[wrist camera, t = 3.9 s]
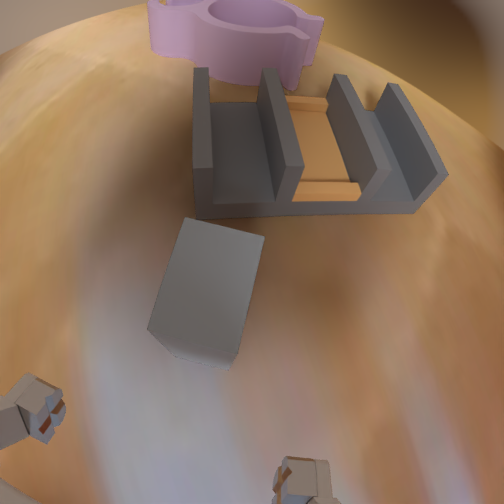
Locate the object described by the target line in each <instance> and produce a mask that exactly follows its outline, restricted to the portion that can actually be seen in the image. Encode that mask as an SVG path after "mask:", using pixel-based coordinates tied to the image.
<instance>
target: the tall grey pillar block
mask: <svg viewBox="0 0 504 504" xmlns="http://www.w3.org/2000/svg"><path fill="white" fill-rule="evenodd" d="M264 239H265V236H261V235H257V234H253V233H249V232H244V231H240V230H236V229H232V228H228V227H224V226H220V225H216V224H212V223H207V222H203V221H199V220H195V219H191V218H187V217H185V218H184V221H183V224H182V226H181V229H180V232H179V235H178V237H177V240H176V243H175V246H174V249H173V252H172V254H171V257H170V260H169V263H168V266H167V269H166V272H165V275H164V278H163V281H162V284H161V287H160V290H159V293H158V296H157V299H156V302H155V305H154V308H153V312H152V315H151V318H150V321H149V325H148V328H147V330H148V331H149V332H150V333H151V334H152V335H153V336H154V337H155V338H156V339H157V340H158V341H159V342H160V343H161V344H163V345H164V346H165V347H166V348H167V349H168V350H169V351H170V352H171V353H172V354H173V355H174V356H175V357H179V358H182V359H186V360H190V361H193V362H197V363H201V364H204V365H208V366H212V367H216V368H220V369H224V370H229V369H230V367H231V365H232V363H233V361H234V359H235V358H236V356H237V354H238V350H239V345H240V341H241V337H242V333H243V328H244V324H245V320H246V316H247V312H248V307H249V303H250V299H251V294H252V290H253V286H254V282H255V277H256V273H257V269H258V264H259V260H260V256H261V252H262V247H263V243H264Z"/></svg>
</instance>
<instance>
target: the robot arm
mask: <svg viewBox="0 0 504 504" xmlns="http://www.w3.org/2000/svg"><path fill="white" fill-rule="evenodd" d="M62 397H63V393H62V390H61V389H59V388H57V387H55V386H53V385H51V384H50V383H48V382H46V381H44V380H42V379H40V378H38V377H36V376H35V375H33V374H31V373H26V374H25V375H24V376H23V377H22V378H21V379H20V380H19V381H18V382H17V383H16V384H15V385H14V387H13V388H12V389H11V390H10V391H9V392H8V393H7V394H6V395H5V397H3V396H2V395H1V396H0V450H1V449H3V448H6V447H8V446H10V445H12V444H14V443H16V442H18V441H20V440H22V439H25V438H27V437H29V435H30V436H32V437H34V438H35V439H37V440H39V441H41V442H43V443H45V444H48V442H49V441H50V439H51V438H52V436H53V435H54V433H55V431H54V427H56V426H59V425H60V424H61V423H62V421H63V419H64V416H65V413H66V406H65V403H64V402H63V400H62V399H61V398H62ZM272 490H273V491H274V492H275V496H274V497H273V499H272V504H341V503H340V502H339V501H338V499H337V498H333V497H332V486H331V476H330V467H329V462H328V461H327V460H316V459H310V458H300V457H291V456H285V457H284V459H283V460H282V466H280V467H278V469H277V471H276V473H275V476H274V479H273V489H272ZM0 504H41V503H40V502H38V501H36V500H35V499H33V498H31V497H29V496H28V495H26V494H25V493H23V492H21V491H20V490H18V489H17V488H15V487H13V486H12V485H10V484H9V483H7V482H6V481H4V480H3V479H2V478H0Z"/></svg>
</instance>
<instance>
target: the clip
mask: <svg viewBox="0 0 504 504" xmlns="http://www.w3.org/2000/svg"><path fill="white" fill-rule="evenodd" d="M147 7H148V20H149V33H150V44H151V50H152V51H153V52H154V53H156V54H158V55H160V56H164V57H171V58H185V59H189V60H191V61H193V62H194V63H195V64H196V65H197V67H198V68H200V67H209V76H210V77H212V78H214V79H217V80H220V81H223V82H227V83H231V84H237V85H245V86H259V85H260V79H261V72H262V68H277V71H278V75H279V78H280V81H281V84H282V85H283V86H284V87H285V88H286V89H287V90H290V91H292V90H296V89H297V86H298V82H299V78H300V74H301V70H302V67H303V66H311V65H312V63H313V59H314V56H315V52H316V49H317V45H318V42H319V38H320V35H321V31H322V27H323V24H324V19H323V18H322V17H320V16H312V15H308V14H306V13H305V12H304V11H303V10H302V9H300V8H299V7H297V6H295V5H293V4H291V3H288V2H286V1H283V0H166V5H163V4H161V3H159V0H150V1H148V2H147Z"/></svg>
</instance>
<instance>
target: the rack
mask: <svg viewBox="0 0 504 504" xmlns="http://www.w3.org/2000/svg"><path fill="white" fill-rule="evenodd" d="M192 164H193V183H194V197H195V210H196V220H204V219H223V218H245V217H270V216H299V215H339V214H414V213H415V212H416V210H417V209H418V208H419V207H420V206H421V205H422V204H423V203H424V202H425V201H426V200H427V199H428V197H429V196H430V195H431V194H432V193H433V192H434V191H435V190H436V189H437V187H438V186H439V185H440V184H441V183H442V182H443V181H444V180H445V178H446V177H447V176H448V175H449V174H448V172H447V170H446V168H445V166H444V164H443V162H442V160H441V158H440V156H439V154H438V152H437V150H436V148H435V146H434V144H433V142H432V141H431V139H430V137H429V135H428V133H427V131H426V130H425V128H424V126H423V124H422V122H421V121H420V119H419V117H418V116H417V114H416V112H415V111H414V109H413V107H412V106H411V104H410V102H409V101H408V99H407V97H406V96H405V94H404V93H403V91H402V90H401V88H400V87H399V85H398V84H393V83H387V85H386V87H385V90H384V92H383V94H382V96H381V98H380V100H379V102H378V104H377V106H376V108H375V110H374V111H367V110H365V109H364V107H363V105H362V103H361V101H360V99H359V97H358V96H357V94H356V92H355V90H354V88H353V86H352V84H351V82H350V81H349V79H348V77H347V75H341V74H334V76H333V79H332V82H331V85H330V88H329V90H328V93H327V96H326V98H318V97H305V96H290V95H285V94H284V91H283V87H282V84H281V81H280V78H279V75H278V71H277V68H262V72H261V79H260V85H259V91H258V97H257V103H254V102H227V103H210V94H209V67H200V68H194V77H193V130H192Z"/></svg>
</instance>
